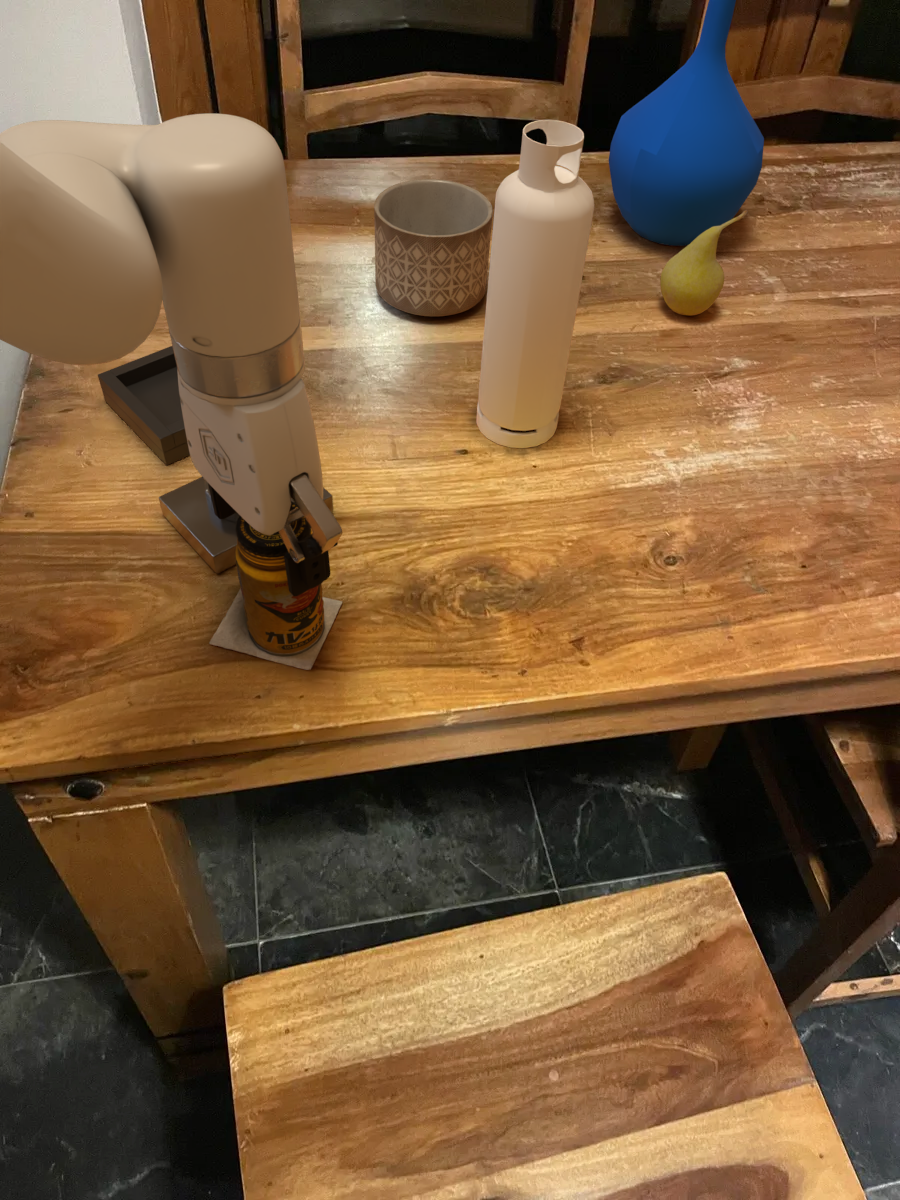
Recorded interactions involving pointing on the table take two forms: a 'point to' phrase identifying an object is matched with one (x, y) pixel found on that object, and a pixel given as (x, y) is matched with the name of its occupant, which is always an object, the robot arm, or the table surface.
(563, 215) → the bottle
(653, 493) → the table surface
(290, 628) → the condiment
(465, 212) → the planter
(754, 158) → the vase
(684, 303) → the fruit
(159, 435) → the tray
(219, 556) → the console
